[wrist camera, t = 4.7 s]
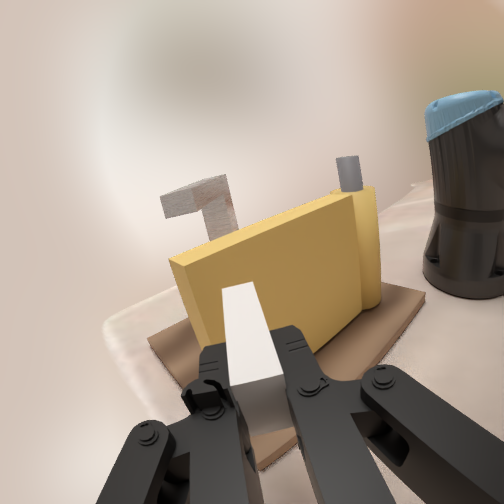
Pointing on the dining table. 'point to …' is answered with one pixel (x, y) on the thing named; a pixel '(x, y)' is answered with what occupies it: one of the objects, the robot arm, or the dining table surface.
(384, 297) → the board
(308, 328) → the hinged door
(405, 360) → the dining table surface
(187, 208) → the hook
